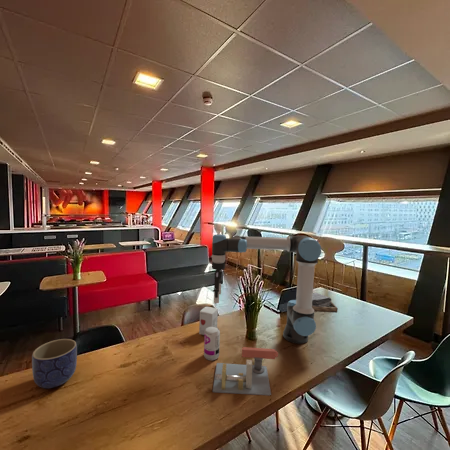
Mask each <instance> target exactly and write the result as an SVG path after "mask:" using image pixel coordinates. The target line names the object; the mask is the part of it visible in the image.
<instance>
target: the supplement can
mask: <svg viewBox="0 0 450 450" xmlns="http://www.w3.org/2000/svg"><path fill="white" fill-rule="evenodd" d="M220 331H221V330H220V328H218V326H217V327H214V326H210V327H207V328H206V330H205V334H204V335H203V337H204V339H203V340H204V342H203V357H204V359H206V360H207V361H216V360H217V359H218V358H219V357H220V341H221V340H220V339H221V338H220V337H221V332H220Z"/></svg>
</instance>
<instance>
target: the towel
mask: <svg viewBox="0 0 450 450" xmlns="http://www.w3.org/2000/svg"><path fill="white" fill-rule="evenodd" d="M330 301H331V302H332V298H331V297H330V296H326V295H324V294H321V293H318V292H313V296H312V306H317V307H331V306H330V305H331V302H330Z"/></svg>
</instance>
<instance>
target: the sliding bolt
mask: <svg viewBox="0 0 450 450" xmlns="http://www.w3.org/2000/svg"><path fill="white" fill-rule="evenodd" d="M245 365H246V376H239V375H226V381H234V382H239V379H243V382H246V388H250V389H251V386H252V365H253V360H252V359H246V364H245ZM214 380H220V381H222V374H215V373H214V379H213V381H214Z"/></svg>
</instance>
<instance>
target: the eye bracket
mask: <svg viewBox="0 0 450 450" xmlns="http://www.w3.org/2000/svg"><path fill="white" fill-rule="evenodd" d="M226 364H227V363H226ZM226 364H223V368H222V389H223V390H225V385H226ZM239 376H243V373H239ZM238 390H243V379H239V382H238Z"/></svg>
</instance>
